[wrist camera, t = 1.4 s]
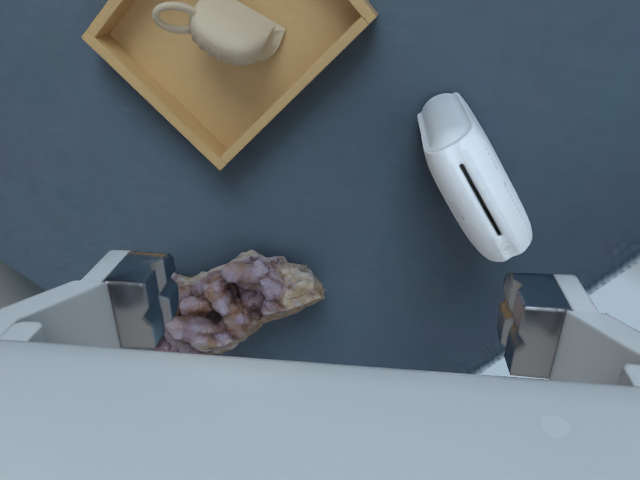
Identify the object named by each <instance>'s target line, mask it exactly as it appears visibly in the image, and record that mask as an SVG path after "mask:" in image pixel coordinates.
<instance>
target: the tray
mask: <svg viewBox="0 0 640 480" xmlns="http://www.w3.org/2000/svg"><path fill="white" fill-rule="evenodd" d="M198 1H199V0H108V2H107V3H106V4H105V6H104V7H103V8H102V10H101V11H100V13H99V14H98V15H97V17H96V18H95V19H94V21H93V22H92V23H91V25H90V26H89V28H88V29H87V30H86V31H85V33H84V34H83V35H82V37H81V38H82V39H83V40H84V41H85V42H86V43H87V44H88V45H89V46H91V47H92V48H93V49H94V50H95V51H96V52H97V53H98V54H99V55H100V56H101V57H102V58H103V59H104V60H105V61H106V62H107V63H108V64H109V65H110V66H111V67H112V68H113V69H114V70H116V71H117V72H118V73H119V74H120V75H121V76H122V77H123V78H124V79H125V80H126V81H127V82H128V83H129V84H130V85H131V86H132V87H133V88H134V89H135V90H136V91H137V92H138V93H139V94H141V95H142V96H143V97H144V98H145V99H146V100H147V101H148V102H149V103H150V104H151V105H152V106H153V107H154V108H155V109H156V110H157V111H158V112H159V113H160V114H161V115H162V116H163V117H164V118H166V119H167V120H168V121H169V122H170V123H171V124H172V125H173V126H174V127H175V128H176V129H177V130H178V131H179V132H180V133H181V134H182V135H183V136H184V137H185V138H186V139H187V140H188V141H189V142H191V143H192V144H193V145H194V146H195V147H196V148H197V149H198V150H199V151H200V152H201V153H202V154H203V155H204V156H205V157H206V158H207V159H208V160H209V161H210V162H211V163H212V164H213V165H215V166H216V167H217V168H218V169H219V170H221V169H222V168H224V167H225V166H226V164H228V163H229V162H230V161H231V160H232V159H233V158H234V157H235V156H236V155H237V154H238V153H239V152H240V151H241V150H242V149H243V148H244V147H245V146H246V145H247V144H248V143H249V142H250V141H251V140H252V139H253V138H254V137H255V136H256V135H257V134H258V133H259V132H260V131H261V130H262V129H263V128H264V127H265V126H266V125H267V124H268V123H269V122H270V121H271V120H272V119H273V118H274V117H275V116H276V115H278V114H279V113H280V112H281V111H282V110H283V109H284V108H285V107H286V106H287V105H288V104H289V103H290V102H291V101H292V100H293V99H294V98H295V97H296V96H297V95H298V94H299V93H300V92H301V91H302V90H303V89H304V88H305V87H306V86H307V85H308V84H309V83H310V82H311V81H312V80H313V79H314V78H315V77H316V76H317V75H318V74H319V73H320V72H321V71H322V70H323V69H324V68H325V67H326V66H327V65H328V64H330V63H331V62H332V61H333V60H334V59H335V58H336V57H337V56H338V55H339V54H340V53H341V52H342V51H343V50H344V49H345V48H346V47H347V46H348V45H349V44H350V43H351V42H352V41H353V40H354V39H355V38H356V37H357V36H358V35H359V34H360V33H361V32H362V31H363V30H364V29H365V28H366V27H367V26H368V24H370V23H371V22H372V21H373V20H374V19H375V18H376V17H377V14H378V13H377V11H376V10H375V9H374V8H373V7H372V5H371V4H370V3H369V2H368V1H367V0H237V1H239V2H241V3H242V4H244V5H246V6H248V7H249V8H251V9H253V10H255V11H257V12H258V13H260V14H262V15H264V16H265V17H267V18H269V19H270V20H272V21H274V22H275V23H277V24H279V25H280V26H282V27H283V28H285V32H284V35H283V38H282V40H281V42H280V45H279V47H278V49H277V50H276V51H275V53H274V54H273V55H271V56H270V57H269V58H268V59H267V60H265V61H264V60H261V61H258V62H256V63H255V64H254V65H253V64H250V65H248V66H246V67H245V66H244V65H243V66H238V67H236V66H235V65H233V64H230V65H227V64H226V62H224V61H221V62H218V61H217V59H216V58H215V57H214V56H212V57H208V56H207V52H206V51H204V50H200V48H199V46H198V44H197V43H195V42H194V41H193V40H192V36H191V34H176V33H171V32H168V31H166V30H164V29H162V28H160V27H159V26H158V25H156V23H155V22H154V21H153V18H152V11H153V9H154V8H155V7H156V6H157V5H159V4H161V3H164V2H181V3H185V4H188V5H190V6H192V7H195V5H196V4H197V2H198ZM159 17H160V19H161V20H162V21H164V22H166V23H168V24H172V25H178V26H184V25H189V19H190V15H189V14H187V13H185V12H181V11H177V10H165V11H163V12H161V13H160V14H159Z"/></svg>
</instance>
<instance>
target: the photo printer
mask: <svg viewBox="0 0 640 480" xmlns="http://www.w3.org/2000/svg"><path fill="white" fill-rule="evenodd" d="M417 118H418V123H419V128H420V133H421V139H422V144H423V150H424V154H425V158H426V161H427V165H428V167H429V170H430V172H431V174H432V176H433V178H434V180H435V182H436V184H437V186H438V188H439V190H440V192H441V194H442V196H443V197H444V199H445V201H446V203H447V205H448V206H449V208H450V210H451V212H452V214H453V215H454V217H455V219H456V220H457V222H458V223H459V225H460V227H461V228H462V230H463V231H464V233H465V234H466V236H467V237H468V239H469V240H470V242H471V243H472V244H473V245H474V246H475V248H476V249H477V250H478V251H479V252H480V253H481V254H482V255H483V256H484V257H486V258H487V259H488V260H491V261H495V262H504V261H507V260H508V259H509V258H511V257H513V256H515V255H519V254H521V253H523V252H524V251H525V250H526V249H527V248H528V246H529V245H530V243H531V241H532V229H531V225H530V222H529V219H528V216H527V214H526V212H525V210H524V208H523V205H522V203H521V201H520V199H519V197H518V195H517V193H516V191H515V189H514V187H513V186H512V184H511V182H510V180H509V178H508V176H507V174H506V172H505V170H504V168H503V166H502V164H501V162H500V160H499V158H498V156H497V154H496V152H495V151H494V149H493V147H492V145H491V143H490V141H489V140H488V138H487V136H486V134H485V133H484V131H483V129H482V127H481V126H480V124H479V122H478V121H477V119H476V117H475V116H474V114H473V112H472V111H471V109H470V108H469V106H468V105H467V103H466V102H465V101H464V99H463V98H462V97H461V96H460V95H459V94H458V93H457V92H455V93H453V94H450V93H443V94H439V95H436V96H434V97H432V98H431V99H430V100H428V101H427V103H426V104H425V105H424V107H423V109H422V112H421V113H419V114H418V115H417Z"/></svg>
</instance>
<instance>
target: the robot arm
mask: <svg viewBox="0 0 640 480" xmlns="http://www.w3.org/2000/svg"><path fill="white" fill-rule="evenodd" d="M175 270H176V269H175V263H174V258H173V257H172V255H171V254H167V253H153V252H140V251H131V250H110V251H109V252H108V253H107V254H106V255H105V256H104V257H103V258H102V259H101V260H100V261H99V262H98V263H97V264H96V265H95V266H94V267H93V268H92V269H91V270H90V271H89V272H88V273H87V274H86V275H85V276H84V277H83V278H82V279H81V280H80V281H72V282H69V283H66V284H64V285H61V286H59V287H56V288H53V289H51V290H48V291H45V292H43V293H40V294H38V295H36V296H32V297H30V298H27V299H25V300H22V301H19V302H17V303H14V304H12V305H9V306H6V307H4V308H1V309H0V480H640V332H639V331H638V330H636V329H634V328H632V327H630V326H629V325H627V324H625V323H623V322H621V321H619V320H617V319H616V318H614V317H612V316H610V315H608V314H607V313H599V312H598V310H597V308H596V307H595V305H594V304H593V302H592V301H591V299H590V297H589V296H588V294H587V293H586V291H585V289H584V288H583V286H582V285H581V283H580V281H579V280H578V278H577V277H576V276H574V275H566V274H536V273H507V274H506V276H505V279H504V283H503V288H502V289H503V292H504V295H505V297H506V299H505V300H504V301H503V302H502V303H501V304H500V305H499V311H498V321H497V329H498V336H499V340H500V343H501V344H502V345H504V346H505V347H506V349H505V354H504V357H505V360H506V363H507V366H508V369H509V372H510V375H516V376H526V377H537V378H546V379H549V380H544V379H530V378H517V377H503V376H489V375H476V374H462V373H449V372H435V371H422V370H408V369H395V368H381V367H367V366H354V365H340V364H327V363H313V362H300V361H287V360H273V359H260V358H246V357H233V356H219V355H206V354H192V353H179V352H165V351H152V350H138V349H125V348H121V347H127V348H149V349H155V348H156V346H157V345H158V343H159V341H160V340H161V338H162V336H163V335H164V333H165V326H164V325H165V324H167V323H169V322H171V321H172V320H173V318H174V316H175V315H176V312H177V308H178V304H179V290H178V285H177V283H176V282H175V281H174V280H173V279H172V278H171V276H172V274H173V273H174V271H175Z"/></svg>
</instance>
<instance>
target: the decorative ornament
mask: <svg viewBox="0 0 640 480" xmlns="http://www.w3.org/2000/svg"><path fill="white" fill-rule="evenodd" d="M165 10H177V11H181V12H185V13H187V14H189V15H190V19H189V25H184V26H178V25H172V24H168V23H166V22H164V21H162V20H161V19H160V17H159V14H160V13H161V12H163V11H165ZM152 18H153V21H154V22H155V23H156V25H158V26H159V27H160V28H162V29H164V30H166V31H168V32H171V33H176V34H191V36H192V40H193V41H194V42H195V43H197V44H198V46H199V48H200V50H204V51H206V52H207V56H208V57H212V56H214V57H215V58H216V59H217V61H218V62H221V61H224V62H226V64H227V65H230V64H233V65H235V66H236V67H238V66H243V65H244V66H245V67H246V66H248V65H250V64H253V65H254V64H255V63H256V62H258V61H261V60H264V61H265V60H267V59H268V58H269V57H270V56H271V55H273V54H274V53H275V51H276V50H277V49H278V47H279V45H280V42H281V40H282V38H283V35H284V32H285V28H283V27H282V26H280V25H279V24H277V23H275V22H274V21H272V20H270V19H269V18H267V17H265V16H264V15H262V14H260V13H258V12H257V11H255V10H253V9H251V8H249V7H248V6H246V5H244V4H242V3H241V2H239V1H237V0H199V1H198V2H197V4H196V5H195V7H192V6H190V5H188V4H185V3H181V2H164V3H161V4H159V5H157V6H156V7H155V8H154V9H153V11H152Z"/></svg>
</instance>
